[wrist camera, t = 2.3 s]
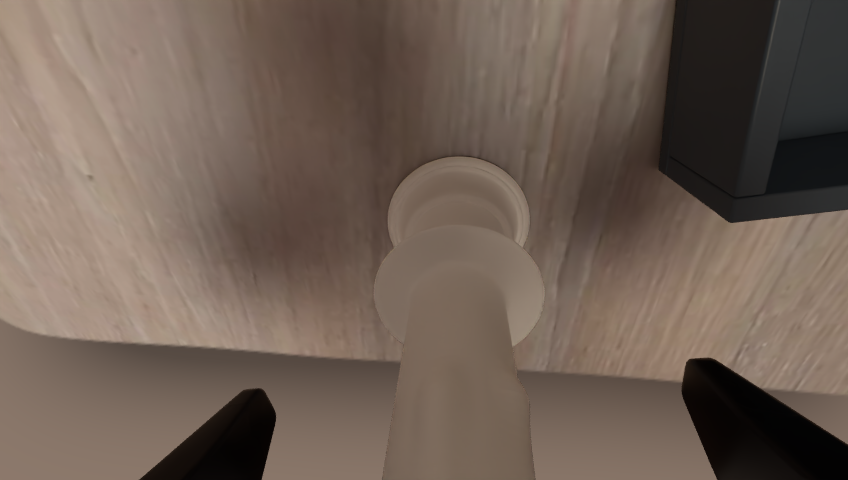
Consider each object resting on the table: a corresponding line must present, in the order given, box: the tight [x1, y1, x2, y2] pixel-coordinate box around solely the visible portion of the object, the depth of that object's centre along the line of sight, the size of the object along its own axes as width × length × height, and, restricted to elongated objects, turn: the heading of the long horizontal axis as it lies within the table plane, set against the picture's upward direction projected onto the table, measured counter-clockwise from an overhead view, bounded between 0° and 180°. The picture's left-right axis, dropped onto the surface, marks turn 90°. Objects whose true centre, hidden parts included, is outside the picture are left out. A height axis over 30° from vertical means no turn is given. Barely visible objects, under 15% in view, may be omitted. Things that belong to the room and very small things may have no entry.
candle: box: [374, 156, 545, 480], centre depth 10 cm, size 5×5×12 cm
